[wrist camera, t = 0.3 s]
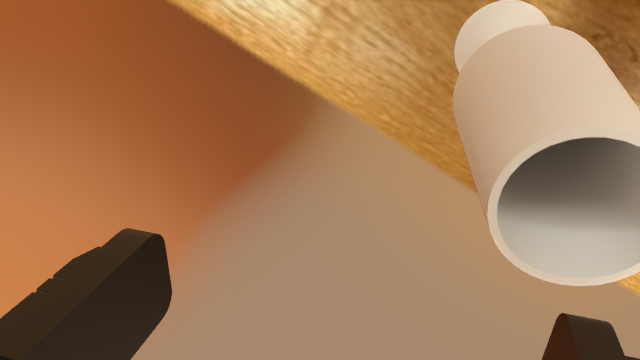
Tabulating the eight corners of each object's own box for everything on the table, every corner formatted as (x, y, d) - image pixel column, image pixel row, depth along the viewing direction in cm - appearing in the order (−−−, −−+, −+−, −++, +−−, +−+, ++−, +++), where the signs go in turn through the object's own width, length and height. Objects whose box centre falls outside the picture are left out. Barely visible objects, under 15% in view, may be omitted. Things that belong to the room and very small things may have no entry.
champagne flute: (434, 58, 34) (400, 217, 14) (501, -22, 31) (592, 25, 10) (503, 113, 35) (575, 350, 14) (577, 39, 32) (813, 206, 11)
